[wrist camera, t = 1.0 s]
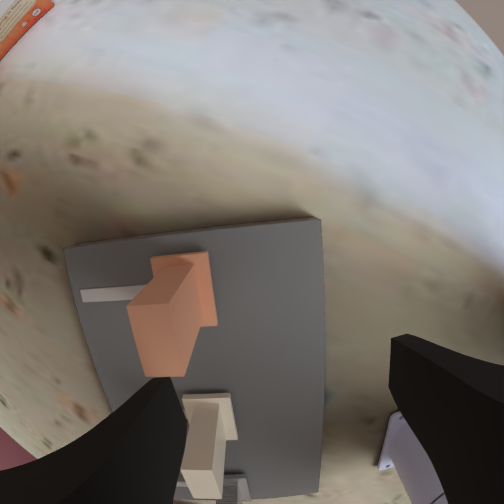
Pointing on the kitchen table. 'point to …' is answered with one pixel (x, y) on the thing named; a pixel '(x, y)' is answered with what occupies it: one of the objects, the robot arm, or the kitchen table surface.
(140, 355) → the terracotta paddle
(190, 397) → the cream upright block
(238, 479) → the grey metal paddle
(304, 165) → the kitchen table surface
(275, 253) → the switch panel
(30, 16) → the cracker box
